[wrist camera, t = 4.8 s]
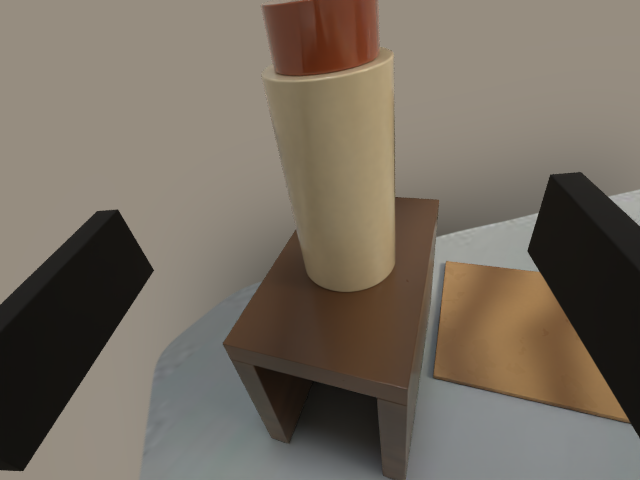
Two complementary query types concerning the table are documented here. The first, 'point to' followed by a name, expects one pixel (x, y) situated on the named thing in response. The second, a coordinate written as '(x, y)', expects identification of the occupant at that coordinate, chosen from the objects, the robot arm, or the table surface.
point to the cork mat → (516, 341)
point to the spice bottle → (335, 135)
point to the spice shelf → (342, 336)
